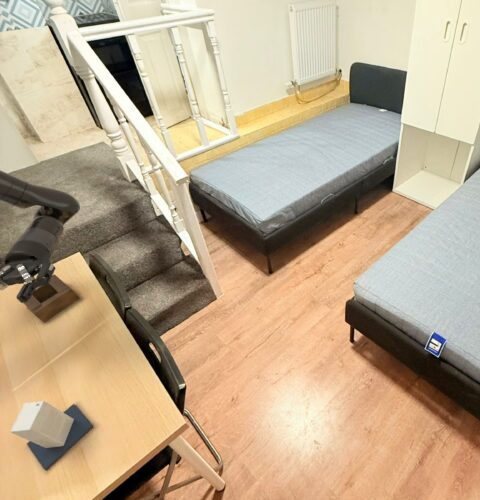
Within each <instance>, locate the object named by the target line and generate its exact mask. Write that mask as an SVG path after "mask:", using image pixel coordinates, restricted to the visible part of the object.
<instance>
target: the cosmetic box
mask: <svg viewBox="0 0 480 500" xmlns="http://www.w3.org/2000/svg"><path fill="white" fill-rule="evenodd" d="M63 412H64V411H61V410H60V409H58V408H56V407H55V406H53V405H52V404H50V403H48V402H46V401H45V400H39V401H31V402H24V403H23V406H22V407H21V409H20V411H19V413H18V415H17V417H16V419H15V421H14V423H13V425H12V427H11V428H10V429H11V430H10V431H9V432H10V433H11V434H13V435H16V436H18V437H20V438H22V439H24V440H26V441H28V442H29V441H31V442H33V443H36V444H38V445H40V446H42V447H45V448H51V447H60V446H64V444H65V441H66V439H67V436H68V434H69V431H70V429H71V426H72V424H73V421H74V419H73V418H71V417H70V416H68V415H66V414H65V413H63Z"/></svg>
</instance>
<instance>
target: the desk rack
mask: <svg viewBox="0 0 480 500" xmlns="http://www.w3.org/2000/svg"><path fill="white" fill-rule="evenodd" d="M78 300H80V297H79V296H78V295H77V293H76V292H75V291H74V290H73V289H72V288H71V287H70V286H68V284H66V283H65V281H63V280H62V279H61V278H60V277H58V275H56V274H55V273H53V275H52V277H51V280H50V282H49V284H48V285H47V286H39V288H38V289H36V290H35V291H34V293H33V294H32V296H31V298H30V299H29V300H28V301H27V302H26V303H23V304H24V305H25V306H26V308H28V310H29V311H30V312H32V314H33V315H34V316H36V317H37V318H38V319H39V320H40V321H41V322H42V323H43V324H44V323H46V322H47V321H49V320H50V319H52V318H53V317H55V316H56V315H58V314H59V313H61V312H62V311H63V310H65V309H67V308H68V307H70V306H71V305H73V304H74V303H75V302H77V301H78Z"/></svg>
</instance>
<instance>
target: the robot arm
mask: <svg viewBox="0 0 480 500" xmlns="http://www.w3.org/2000/svg"><path fill="white" fill-rule="evenodd" d="M0 202H1V203H3V204H7V205H9V206H12V207H15V208H18V209H20V210H26V209H29V208H31V207H35V206H39V207H38V208H37V210H36V211H35V213H34V215H33V217H32V221H31V222H30V223H29V224H28V225H27V227H26V229H25V230H24V231H23V232H22V233H21V234H20V236H18V238H17V239H16V240H15V242H14V244H12V246H11V247H10V249H9V251H8V252H7V253H6V254H5V256H4V264H3V266H1V267H0V280H1V281H2V282H3V283H0V291H5V290H6V289H7V288H9V287H11V286H15V285H22V286H21V288H20V290H19V291H18V293H17V294H16V300H17V301H19V302H20V303H21V304H24V303H26V302H27V301H28V300H29V299H30V298H31V296H32V294H33V293H34V291H35V290H36V289H38V288H39V286H47V285H48V284H49V282H50V280H51V277H52V275H54V274H55V270H56V269H57V268H56V267H55V265H54V264H53V263H52V262H51V261H50V259H51V258H52V256H53V254H54V252H55V250H56V249H57V248H56V247H57V245H58V243H59V241H60V240H61V238H62V236H63V233H64V225H65V224H66V223H67V222H69V221H70V220H71V219H72V218H74V217H75V216H76V215H77V214H78V213H79V211H80V210H81V205H80V202H79V201H78V200H77V198H76V197H74V196H73V194H70V193H68V192H65V191H63V190H59V189H55V188H50V187H47V186H43V185H37V184H33V183H30V182H28V181H26V180H24V179H21V178H19V177H17V176H16V175H15V176H14V175H12V174H10V173H8V172H6V171H3V170H1V169H0Z"/></svg>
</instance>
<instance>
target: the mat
mask: <svg viewBox="0 0 480 500" xmlns="http://www.w3.org/2000/svg"><path fill="white" fill-rule="evenodd" d="M62 412H63V413H65V414H66V415H68V416H70V417H71V418H73V419H74V421H73V424H72V426H71V429H70V431H69V434H68V436H67V439H66V441H65V444H64V446H60V447H51V448H45V447H42V446H40V445H38V444H36V443H33V442H31V441H29V440H28V442H27V443H26V445H27V447H28V448H29V449H30V451H31V453H32V455H34V457H35V458H36V459H37V461H38V463H39V464H40V465H41V467H42V468H43V470H44V471H47V470H49V469H50V468H51V467H52V466H53V465H54V464H55V463H56V462H57V461H59V459H60V458H62V457H63V456H64V455H65V454H66V453H68V451H69V450H71V448H72V447H74V446H75V445H76V444H77V443H78V442H79V441H80V440H81V439H82V438H83V437H84V436H86V435H87V433H89V432H90V431H91V430H92V429H93V428H94V425H93V423H91V422H90V421H89V419H88V417H86V415H85V414H84V413H83V412H82V411H81V410H80V409H79V408H78V406H77V405H76V404H75V403H73V404H71V405H70V406H69V407H67V409H66V410H64V411H62Z"/></svg>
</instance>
